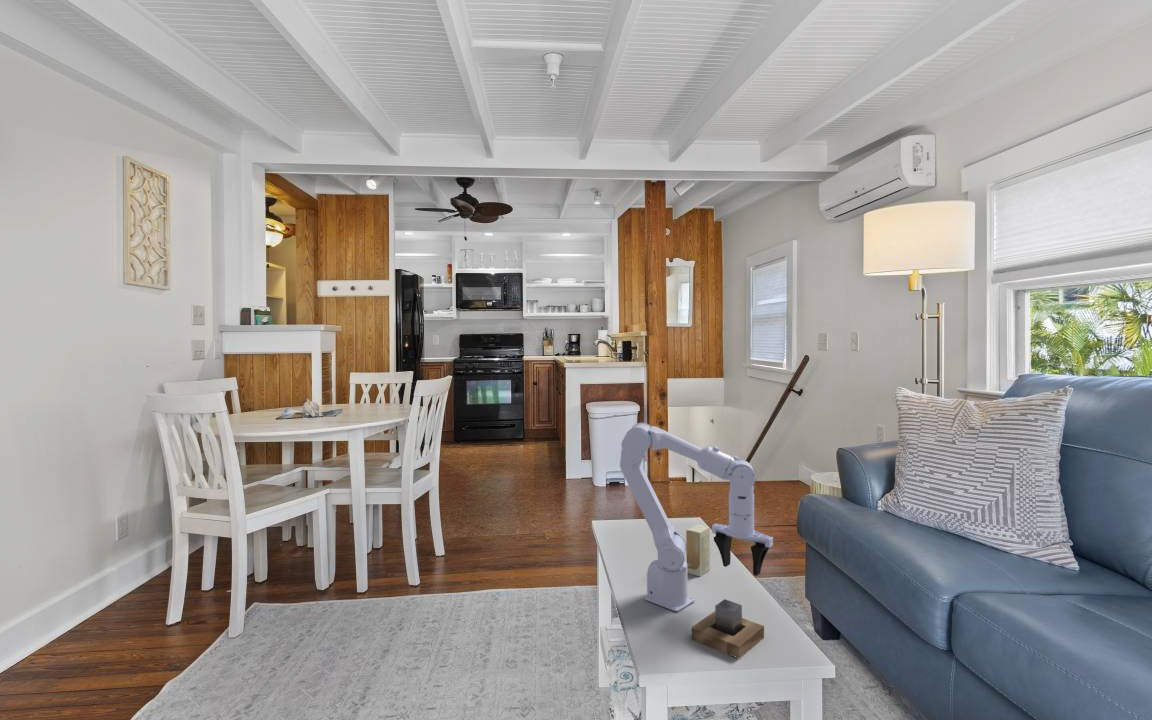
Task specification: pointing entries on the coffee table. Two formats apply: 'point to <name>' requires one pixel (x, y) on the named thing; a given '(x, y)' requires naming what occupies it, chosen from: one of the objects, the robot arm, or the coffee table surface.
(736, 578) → the coffee table surface
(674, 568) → the robot arm
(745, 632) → the socket block
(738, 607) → the peg
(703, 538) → the skincare box
